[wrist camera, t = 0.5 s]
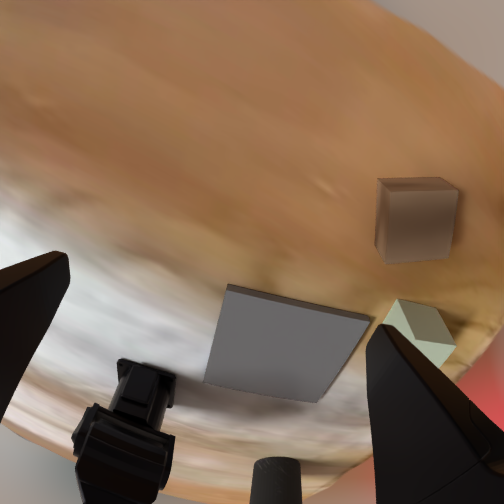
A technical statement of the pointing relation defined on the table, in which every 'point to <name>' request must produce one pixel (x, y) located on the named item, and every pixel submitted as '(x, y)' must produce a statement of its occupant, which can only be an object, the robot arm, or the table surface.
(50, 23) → the table surface
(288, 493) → the travel mug
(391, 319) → the sage block
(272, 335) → the plate
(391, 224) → the walnut block
